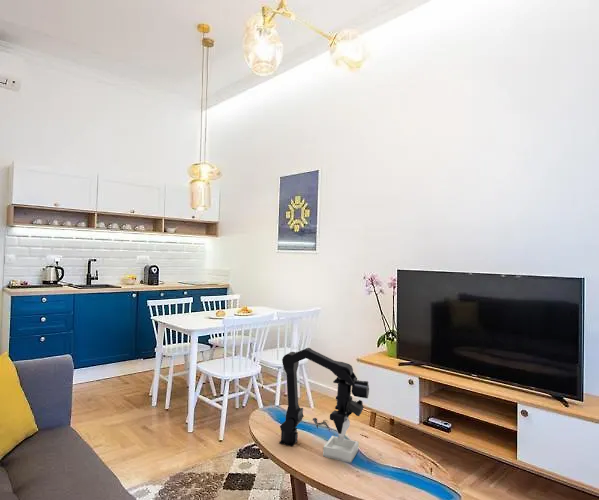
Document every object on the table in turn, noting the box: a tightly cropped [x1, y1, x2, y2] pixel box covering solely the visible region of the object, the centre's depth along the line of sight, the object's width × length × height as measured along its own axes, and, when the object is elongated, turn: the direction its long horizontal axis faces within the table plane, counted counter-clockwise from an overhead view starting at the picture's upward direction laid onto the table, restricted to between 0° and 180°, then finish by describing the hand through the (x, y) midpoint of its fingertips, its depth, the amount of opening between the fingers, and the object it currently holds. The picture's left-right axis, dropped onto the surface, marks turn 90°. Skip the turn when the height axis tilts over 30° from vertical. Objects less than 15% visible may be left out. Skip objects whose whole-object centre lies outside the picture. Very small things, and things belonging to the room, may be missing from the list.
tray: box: [322, 435, 359, 464], centre depth 178 cm, size 12×12×4 cm
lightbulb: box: [337, 417, 351, 442], centre depth 178 cm, size 6×6×11 cm
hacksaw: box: [312, 417, 331, 431], centre depth 203 cm, size 24×10×2 cm, turn 11°
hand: (341, 430), depth 178 cm, fingers closed on lightbulb, 6 cm apart
